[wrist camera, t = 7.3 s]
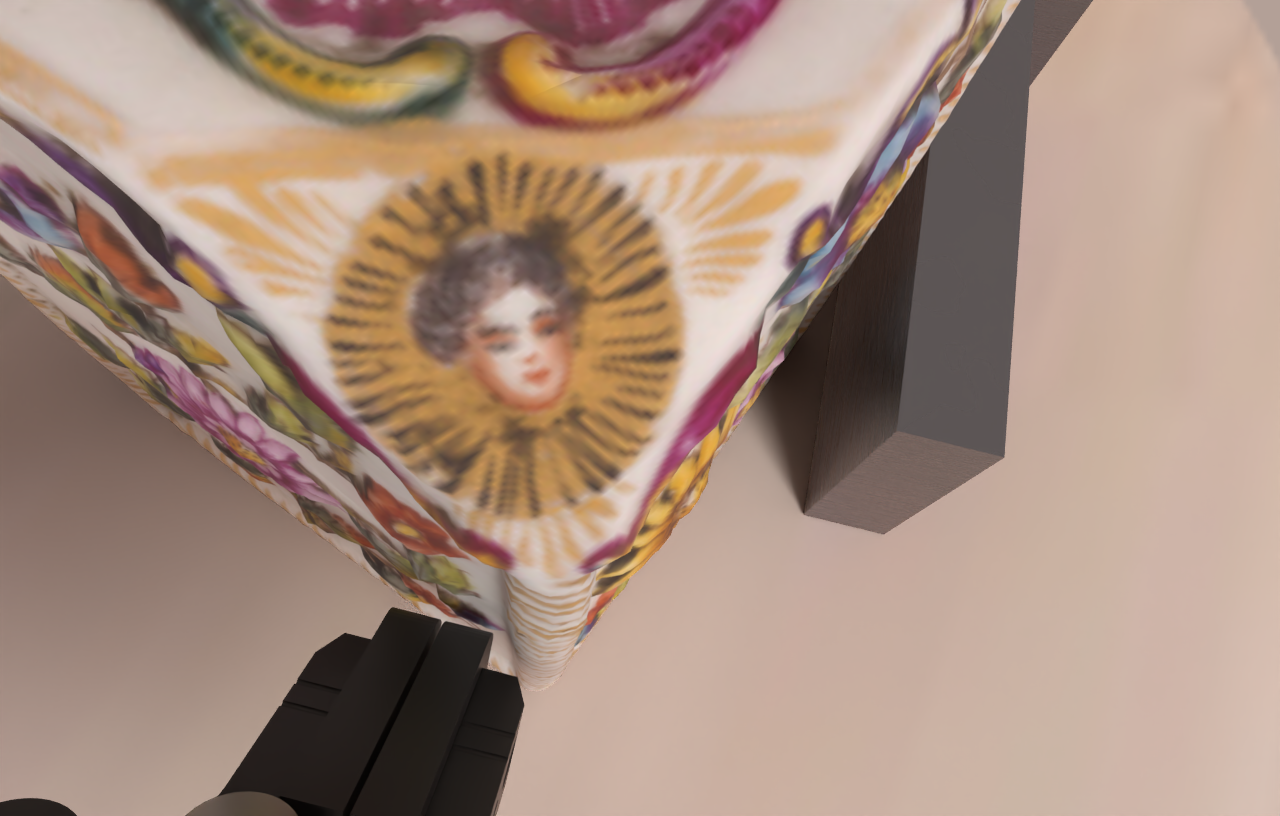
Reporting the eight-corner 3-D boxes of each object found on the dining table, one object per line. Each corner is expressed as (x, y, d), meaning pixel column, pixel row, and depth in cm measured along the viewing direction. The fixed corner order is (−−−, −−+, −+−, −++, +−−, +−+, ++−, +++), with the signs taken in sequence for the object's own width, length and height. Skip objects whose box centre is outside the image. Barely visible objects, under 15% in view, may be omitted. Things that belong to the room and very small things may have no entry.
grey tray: (943, 548, 22) (1104, 467, 16) (47, 329, 21) (-150, 156, 15) (987, 67, 28) (1117, -130, 21) (282, -114, 27) (208, -369, 21)
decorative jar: (138, 404, 21) (-1435, -997, 4) (460, 94, 25) (313, -1234, 8) (551, 718, 19) (659, 484, 3) (821, 333, 24) (1519, -696, 7)
